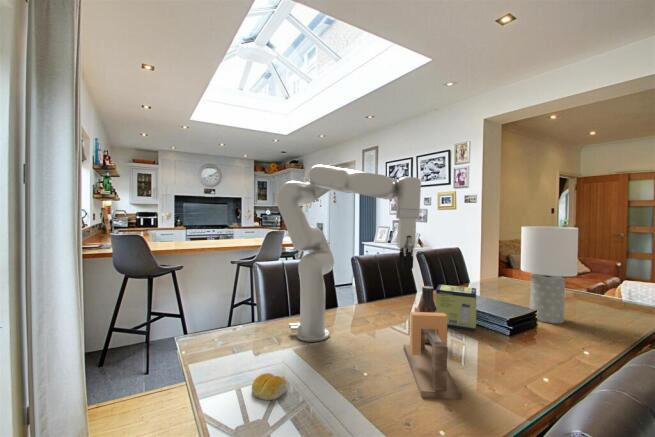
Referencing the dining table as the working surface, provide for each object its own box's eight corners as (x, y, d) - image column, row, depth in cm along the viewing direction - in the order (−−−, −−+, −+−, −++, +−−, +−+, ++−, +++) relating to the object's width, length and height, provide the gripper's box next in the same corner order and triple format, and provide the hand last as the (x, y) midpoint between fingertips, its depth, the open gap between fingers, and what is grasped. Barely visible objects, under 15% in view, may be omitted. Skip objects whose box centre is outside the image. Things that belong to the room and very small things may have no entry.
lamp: (539, 309, 152) (541, 226, 151) (587, 324, 133) (589, 228, 132) (509, 314, 145) (511, 226, 144) (554, 330, 125) (557, 228, 125)
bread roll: (266, 379, 87) (266, 365, 87) (291, 389, 82) (291, 374, 82) (244, 393, 80) (244, 378, 80) (270, 405, 75) (270, 389, 75)
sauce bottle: (437, 345, 110) (438, 290, 110) (419, 343, 111) (420, 288, 111) (434, 337, 117) (435, 285, 116) (417, 336, 118) (418, 284, 117)
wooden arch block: (412, 355, 91) (412, 315, 91) (410, 350, 94) (410, 311, 94) (446, 356, 90) (447, 316, 90) (443, 352, 93) (444, 312, 93)
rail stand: (421, 396, 79) (421, 346, 79) (403, 348, 107) (404, 311, 107) (461, 399, 78) (462, 348, 78) (432, 350, 106) (433, 312, 106)
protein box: (437, 318, 139) (438, 284, 138) (476, 324, 132) (476, 288, 132) (435, 325, 129) (435, 289, 129) (476, 332, 122) (476, 293, 122)
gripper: (393, 214, 111) (391, 260, 112) (399, 214, 94) (396, 270, 95) (415, 214, 110) (412, 262, 111) (424, 215, 93) (421, 271, 94)
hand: (405, 265), depth 103 cm, fingers open, 9 cm apart
